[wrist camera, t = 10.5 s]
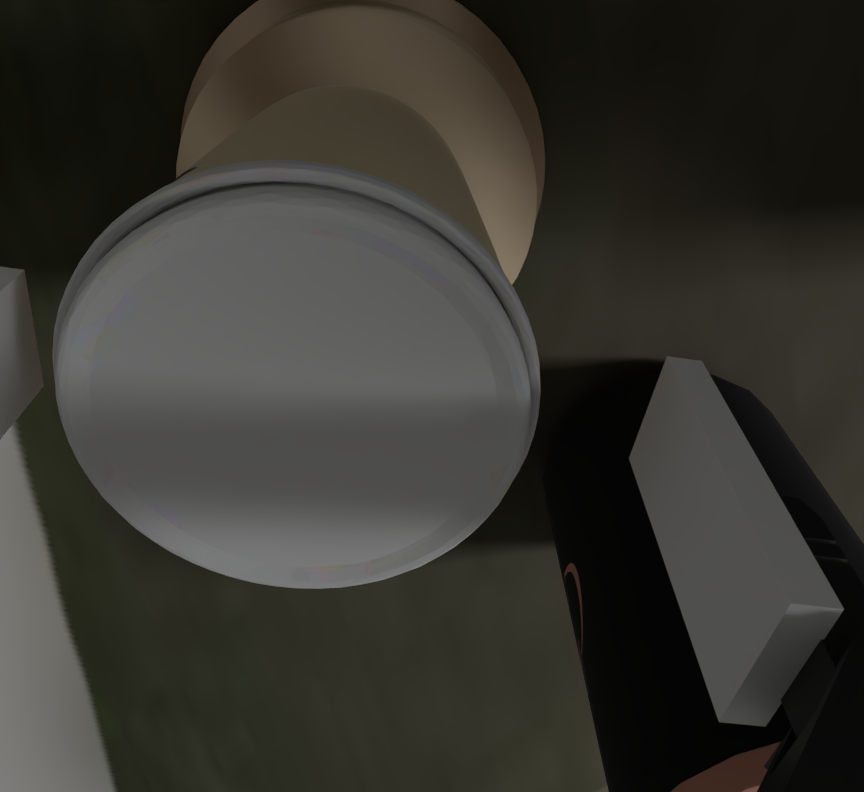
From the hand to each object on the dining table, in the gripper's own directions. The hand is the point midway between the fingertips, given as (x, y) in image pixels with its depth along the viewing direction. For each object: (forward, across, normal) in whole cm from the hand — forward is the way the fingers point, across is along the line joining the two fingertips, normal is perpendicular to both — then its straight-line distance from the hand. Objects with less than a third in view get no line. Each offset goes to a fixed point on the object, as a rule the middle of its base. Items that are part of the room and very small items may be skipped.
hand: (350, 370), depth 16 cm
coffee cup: (+10, -1, 0) cm, 10 cm away
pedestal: (+14, -1, 0) cm, 14 cm away
